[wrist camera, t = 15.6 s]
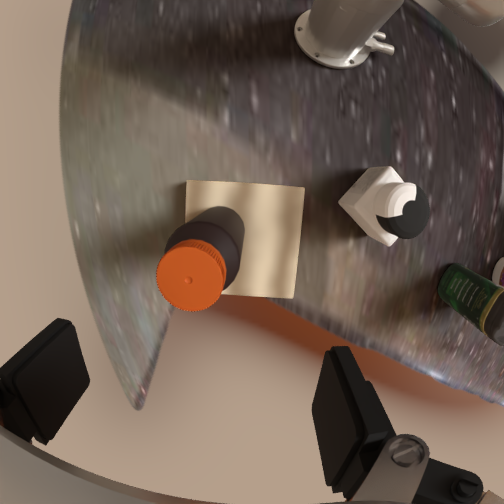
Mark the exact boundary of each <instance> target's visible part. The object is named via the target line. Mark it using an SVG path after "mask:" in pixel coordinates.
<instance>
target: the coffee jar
mask: <svg viewBox="0 0 504 504" xmlns="http://www.w3.org/2000/svg"><path fill="white" fill-rule="evenodd" d="M438 294H439V296H440V297H441V299H442V300H443V301H444V302H445V303H447V304H448V305H449V306H450V307H452V308H453V309H454V310H456V311H457V312H458V313H459V314H460V315H462V316H463V317H464V318H465V319H466V320H468V321H469V322H470V323H471V324H473V325H474V326H475V327H476V328H477V329H479V330H480V331H481V332H482V333H484V334H485V335H486V336H488V337H489V338H490V339H492V340H493V341H494V342H496V343H497V344H499V345H500V346H504V288H502V287H500V286H499V285H497V284H495V283H493V282H491V281H490V280H488V279H486V278H484V277H482V276H481V275H479V274H477V273H475V272H473V271H472V270H470V269H468V268H466V267H464V266H463V265H461V264H459V263H454V264H452V265H451V266H450V267H449V268H448V269H447V270H446V271H445V273H444V274H443V276H442V278H441V280H440V283H439V286H438Z"/></svg>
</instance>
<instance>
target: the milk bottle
mask: <svg viewBox="0 0 504 504" xmlns="http://www.w3.org/2000/svg"><path fill="white" fill-rule="evenodd" d="M492 282H493V283H495V284H497V285H499V286H500V287H502V288H504V257H502V258H501V259H499V261H498V262H497V263H496V265H495V267H494V270H493V274H492Z"/></svg>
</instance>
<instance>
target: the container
mask: <svg viewBox="0 0 504 504" xmlns="http://www.w3.org/2000/svg"><path fill="white" fill-rule="evenodd" d="M338 203H339V205H340V206H341V207H342V208H343V209H344V210H345V211H346V212H347V213H348V214H349V215H350V216H351V217H352V218H353V219H354V221H355V222H356V223H357V224H358V225H359V226H360V227H361V228H362V229H363V230H364V232H365V233H366V234H367V235H368V236H370V237H372V238H374V239H375V240H377V241H379V242H381V243H383V244H385V245H386V246H391V245H392V244H393V243H394V242H395V240H396V239H397V238H398V237H399V238H402V239H411V238H414V237H416V236H417V235H419V234H420V233H421V232H422V231H423V230H424V228H425V227H426V225H427V222H428V219H429V213H430V207H429V202H428V199H427V196H426V194H425V193H424V191H423V190H422V189H421V188H420V187H418V186H417V185H415V184H412V183H404V182H403V180H402V179H401V178H400V177H399V175H398V174H397V173H396V172H395V170H394V169H393V168H392V167H390V166H388V167H374V168H368V169H367V170H366V171H365V173H364V174H363V175H362V176H361V177H360V178H359V179H358V180H357V181H356V182H355V183H354V185H353V186H352V187H351V188H350V189H349V190H348V191H347V192H346V193H345V194H344V195H343V197H342V198H341V199H340V200H339V201H338Z"/></svg>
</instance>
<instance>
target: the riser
mask: <svg viewBox="0 0 504 504" xmlns="http://www.w3.org/2000/svg"><path fill="white" fill-rule="evenodd" d="M304 191H305V188H303V187H293V186H282V185H270V184H256V183H241V182H222V181H197V180H187V187H186V212H185V223H187V222H189V221H190V220H192V219H193V218H195V217H196V216H198V215H199V214H201V213H202V212H204V211H206V210H207V209H209V208H211V207H216V206H225V207H228V208H230V209H233V210H234V211H235V212H236V213H238V214H239V215H240V217H241V219H242V221H243V223H244V227H245V234H244V242H243V248H242V255H241V262H240V269H239V272H238V274H237V276H236V278H235V280H234V281H233V282H232V283H231V285H230V286H229V287H228V288H227V289H225V290H223V291H222V293H221V294H230V295H245V296H259V297H276V298H293V295H294V287H295V279H296V270H297V262H298V253H299V244H300V234H301V224H302V214H303V203H304Z"/></svg>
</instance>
